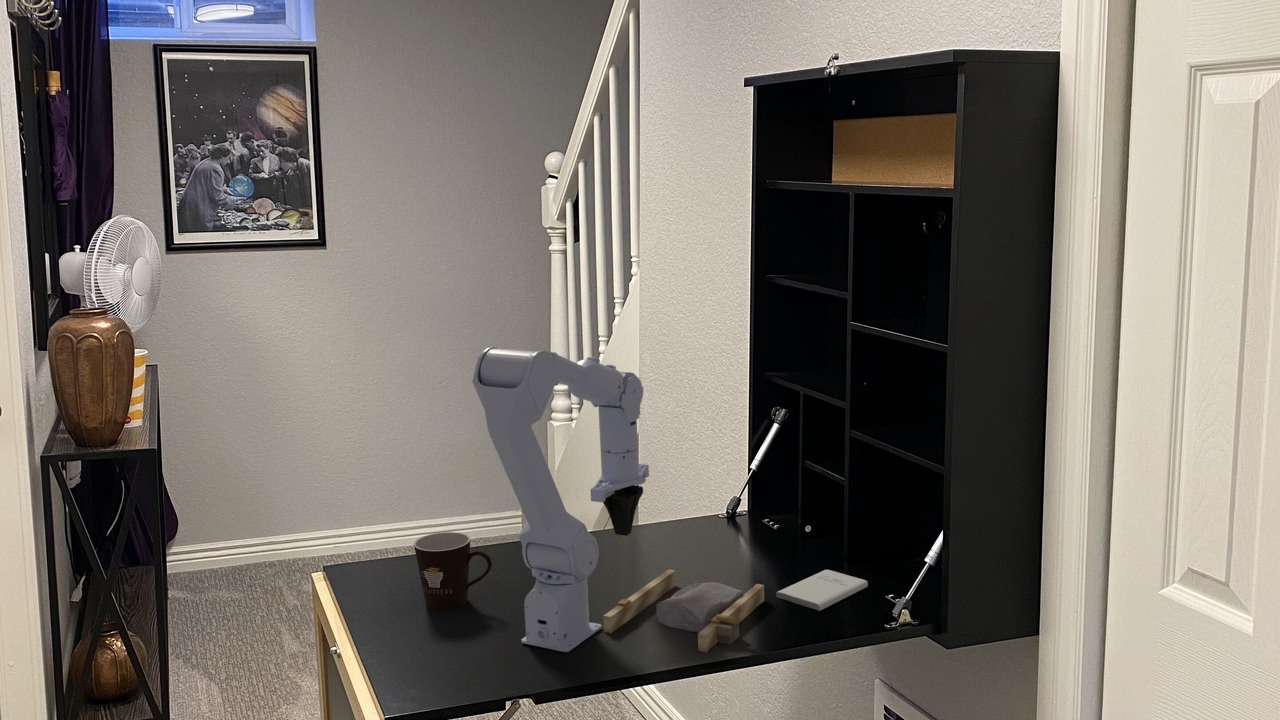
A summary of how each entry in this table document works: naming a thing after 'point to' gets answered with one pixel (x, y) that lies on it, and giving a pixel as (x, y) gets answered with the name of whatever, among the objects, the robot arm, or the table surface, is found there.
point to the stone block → (696, 605)
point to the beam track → (716, 632)
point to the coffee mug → (446, 569)
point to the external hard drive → (822, 589)
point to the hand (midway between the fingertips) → (623, 533)
